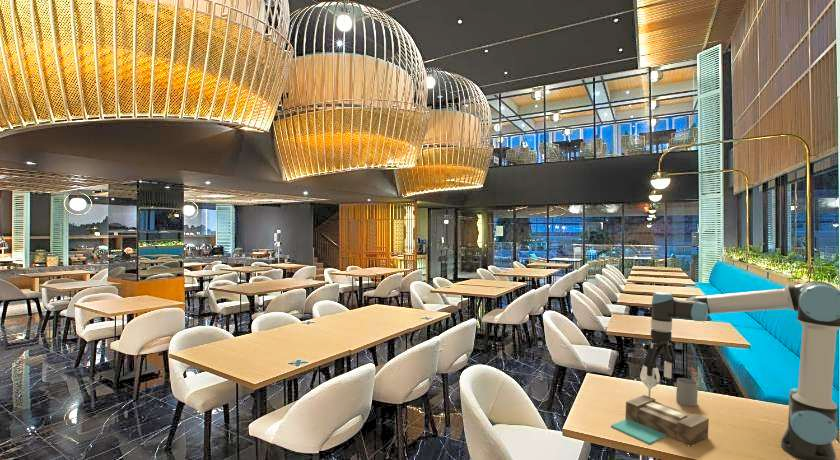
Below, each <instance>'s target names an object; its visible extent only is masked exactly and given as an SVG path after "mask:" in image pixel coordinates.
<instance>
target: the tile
mask: <svg viewBox="0 0 840 460" xmlns="http://www.w3.org/2000/svg"><path fill="white" fill-rule="evenodd" d="M646 408H647V409H650V410H652V411H655V412H658V413H660V414H663V415H665V416H668V417H671V418H673V419H676V420H678V421H680V420H682V419H684V418H687V415H685V414H683V413H680V412H677V411H675V410H672V409H669V408H666V407H664V406H661V405H658V404H656V403H653V402H651V403H649V404H646Z"/></svg>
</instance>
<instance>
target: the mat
mask: <svg viewBox="0 0 840 460" xmlns="http://www.w3.org/2000/svg"><path fill="white" fill-rule="evenodd" d="M610 427H611V428H612V429H615V430H618V431H619V432H621V433H624V434H626V435H628V436H630V437H632V436H633V438H634V439H637V440H639V441H641V442H643V441H644V442H643V443H645V442H646V443H645V444H648V445H651V444H654V443H656V442H657V440H658V441H659V439H660V440H661V439H663V438H666V437H667V436H666V435H665V434H663V433H661V432H658V431H656V430H654V429H651V428H649V427H647V426H644V425H642V424H639V423H637V422H635V421H632V420H630V419H623V420H620V421H618V422H616V423H613V424H611V425H610ZM655 441H656V442H655ZM653 442H654V443H653Z"/></svg>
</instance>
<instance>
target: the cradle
mask: <svg viewBox="0 0 840 460" xmlns="http://www.w3.org/2000/svg"><path fill="white" fill-rule="evenodd" d="M651 402H653V403H656V404H658V405H661V406H664V407H666V408H669V409H672V410H675V411H677V412H680V413H683V414H685V415H687V418H684V419H682V420H680V421H678V420H676V419H673V418H671V417H668V416H665V415H663V414H660V413H658V412H655V411H652V410H650V409H647V408H646V404H649V403H651ZM625 419H630V420H632V421H635V422H637V423H639V424H642V425H644V426H647V427H649V428H651V429H654V430H656V431H658V432H661V433H663V434H665V435H666V437H667V438H669V439H672V440H674V441H676V442H679V443H681V442H682V443H681V444H683V443H684V445H685V444H686V446H688V445H689V446H688V447H690V446H691V447H692V445H693V446H694V444H695V445H696V444H698V443H700V442H702V441H704V440H705V439H708V437H709V420H710V419H709V418H708V417H706V416H703V415H700V414H697V413H693V414H690V413H687V412H685V411H683V410H679V409H678V408H675V407H671V406H668V405H666V404H663V403H661V402H658V401H656V398H653V397H651V396H650V397H648V395H645V394H644V395H640V396H638V397H635V398H632V399H630V400H627V401H625ZM625 419H624V420H625Z"/></svg>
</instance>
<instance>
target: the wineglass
mask: <svg viewBox="0 0 840 460" xmlns="http://www.w3.org/2000/svg"><path fill="white" fill-rule="evenodd" d="M654 368H655V375H654V385H652V384H649V383H647V367H645V366H644V364H643V365H642V368H641V371H640V375H639V379H640V380H641V382H642V383H643V384H644V385H645V386H646V387H647V389H648V393H647V394H648V395H647V396H648V397H651V389H652V388H654V387H656V386H658V385H659V383H660V381H661V376H660V372H659V367H658V366H657V365H656V364H655V365H654Z"/></svg>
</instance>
